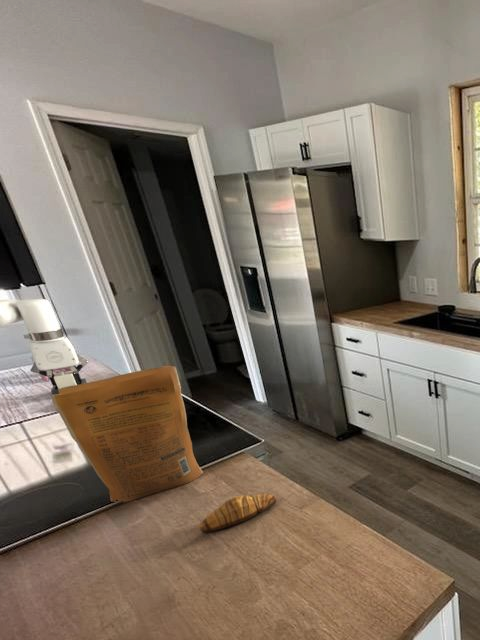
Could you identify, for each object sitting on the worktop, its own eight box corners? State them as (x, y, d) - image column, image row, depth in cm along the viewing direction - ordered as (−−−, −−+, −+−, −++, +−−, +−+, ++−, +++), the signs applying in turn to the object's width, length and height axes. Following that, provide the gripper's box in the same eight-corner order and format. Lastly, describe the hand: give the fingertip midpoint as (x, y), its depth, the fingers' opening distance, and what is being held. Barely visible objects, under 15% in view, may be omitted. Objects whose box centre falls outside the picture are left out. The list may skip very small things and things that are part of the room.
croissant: (205, 543, 77) (197, 522, 75) (198, 526, 81) (190, 505, 80) (282, 510, 86) (277, 490, 84) (272, 496, 90) (267, 477, 88)
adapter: (54, 398, 143) (50, 390, 142) (57, 391, 150) (54, 383, 148) (86, 392, 148) (83, 385, 147) (88, 385, 154) (85, 378, 153)
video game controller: (78, 376, 168) (69, 361, 167) (79, 373, 165) (70, 357, 165) (43, 384, 160) (34, 368, 159) (44, 381, 157) (35, 364, 157)
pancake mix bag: (212, 479, 97) (175, 367, 86) (102, 514, 85) (45, 390, 75) (208, 467, 101) (173, 359, 91) (103, 499, 90) (50, 380, 80)
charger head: (59, 391, 144) (52, 374, 142) (61, 386, 149) (54, 370, 146) (77, 387, 147) (70, 371, 145) (78, 383, 151) (72, 367, 149)
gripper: (8, 342, 133) (32, 394, 140) (80, 333, 144) (99, 382, 150) (12, 337, 138) (35, 388, 145) (82, 329, 149) (100, 376, 155)
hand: (68, 384), depth 148 cm, fingers closed on charger head, 4 cm apart
